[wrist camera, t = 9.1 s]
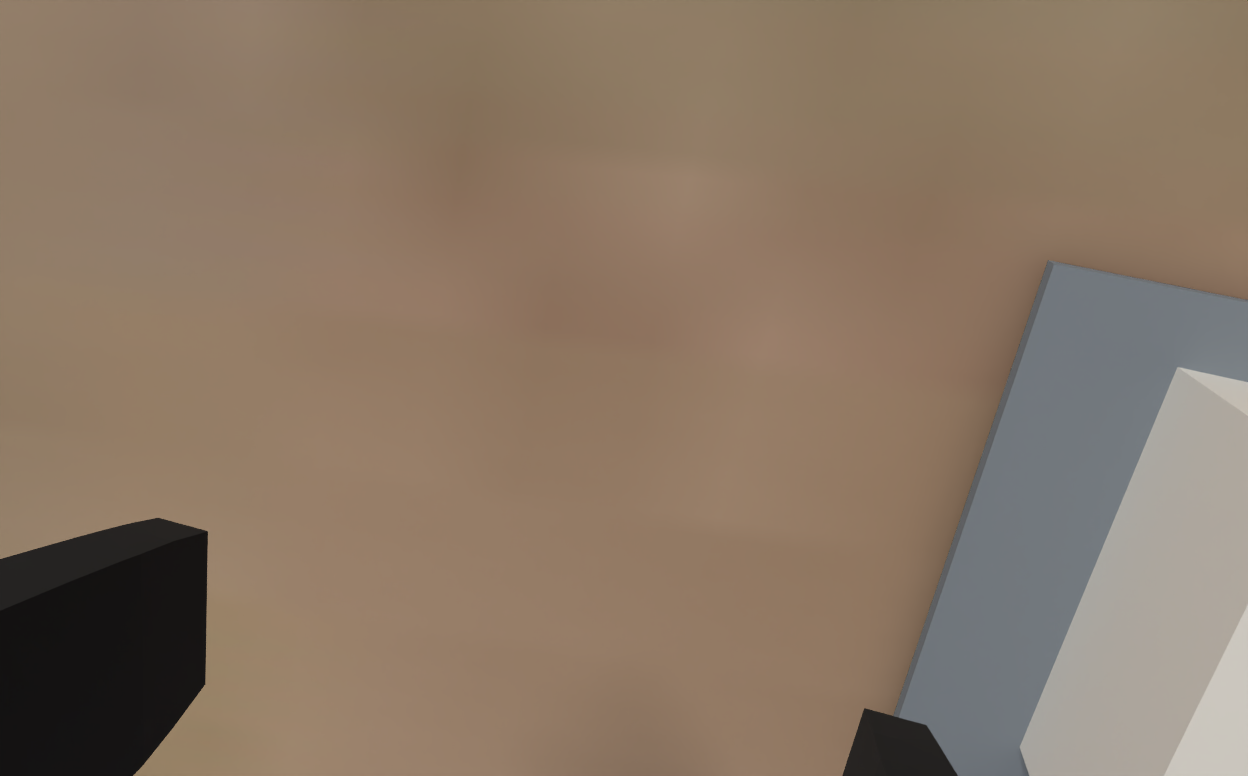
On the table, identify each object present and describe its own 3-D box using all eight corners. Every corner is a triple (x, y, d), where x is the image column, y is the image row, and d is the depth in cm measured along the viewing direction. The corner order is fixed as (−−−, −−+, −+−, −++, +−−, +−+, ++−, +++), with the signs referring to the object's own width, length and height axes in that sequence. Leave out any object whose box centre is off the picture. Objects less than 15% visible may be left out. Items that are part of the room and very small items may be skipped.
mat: (1296, 899, 19) (1306, 916, 18) (871, 780, 20) (872, 794, 19) (1602, 371, 15) (1623, 378, 14) (1048, 260, 16) (1054, 263, 15)
